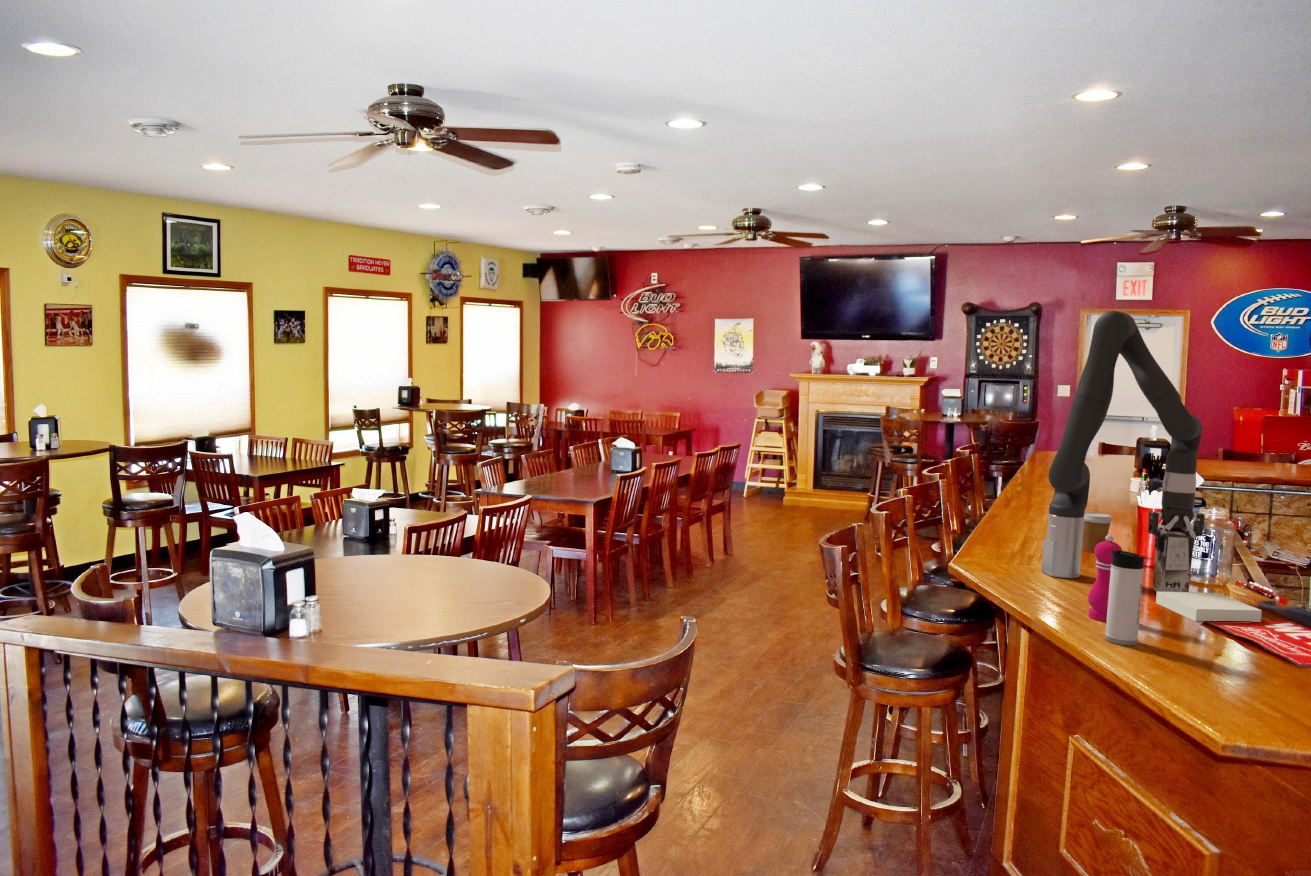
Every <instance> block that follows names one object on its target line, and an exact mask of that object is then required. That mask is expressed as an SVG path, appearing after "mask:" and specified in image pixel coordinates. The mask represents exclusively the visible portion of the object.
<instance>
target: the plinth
mask: <svg viewBox="0 0 1311 876" xmlns="http://www.w3.org/2000/svg"><path fill="white" fill-rule="evenodd" d="M1155 604H1157V605H1159V606H1161V607H1164V608H1165V609H1167V610H1170V611H1172V612H1174V613H1177V614H1178V615H1181V616H1183V617H1186V618H1188V619H1190V620H1192V621H1195V622H1204V621H1215V620H1217V621H1251V622H1261V621H1262V609H1260V608H1257V607H1255V606H1252V605H1249V604H1247V603H1245V602H1241V601H1239V600H1236V599H1234V598H1231V597H1229V596H1226V595H1224V594H1222V593H1219V592H1198V591H1197V592H1192V591H1189V592H1156V597H1155Z"/></svg>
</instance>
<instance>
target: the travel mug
mask: <svg viewBox="0 0 1311 876" xmlns="http://www.w3.org/2000/svg"><path fill="white" fill-rule="evenodd" d="M1111 553H1112V564H1111V573H1110V585H1109V597H1108V610H1107V622H1106V624H1105V635H1104V637H1105V640H1106V641H1107V642H1109V643H1111V644H1115V645H1120V646H1128V647H1130V646H1135V645H1137V644H1138V641H1139V640H1138V639H1139V637H1138V636H1139V627H1140V618H1141V617H1140V616H1141V607H1142V606H1141V604H1142V593H1143V592H1142V591H1143V582H1144V570H1145V567H1144V564H1145V556H1144V555H1142V556H1141V555H1139V554H1138V553H1135V552H1130V551H1125V550H1122V551H1120V550H1112V551H1111Z"/></svg>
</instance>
